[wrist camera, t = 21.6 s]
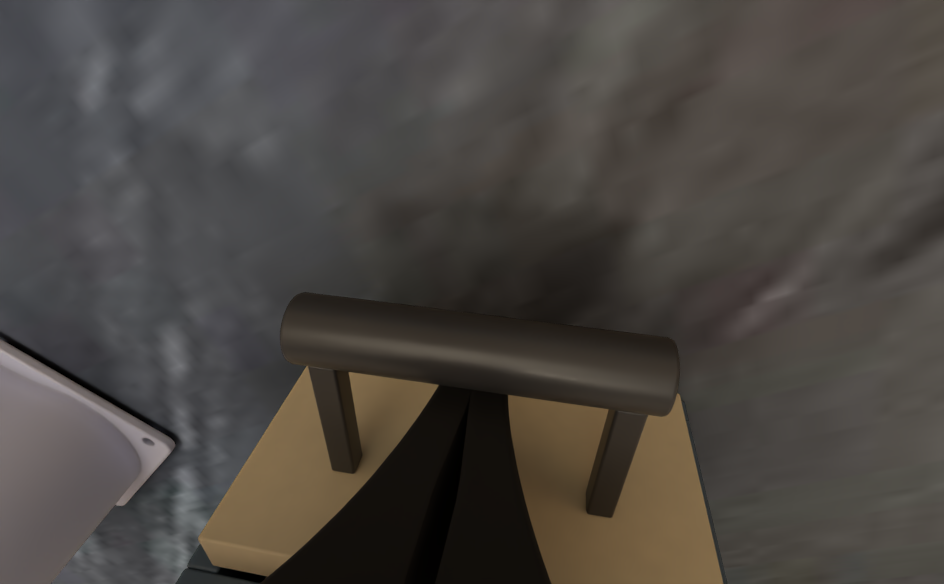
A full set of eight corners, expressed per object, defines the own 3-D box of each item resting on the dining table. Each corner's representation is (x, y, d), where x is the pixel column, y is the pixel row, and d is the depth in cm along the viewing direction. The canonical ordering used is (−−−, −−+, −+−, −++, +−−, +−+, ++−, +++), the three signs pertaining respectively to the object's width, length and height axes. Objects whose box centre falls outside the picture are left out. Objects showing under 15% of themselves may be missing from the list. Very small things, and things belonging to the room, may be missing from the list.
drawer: (290, 199, 13) (99, 372, 8) (738, 244, 11) (871, 491, 6) (361, 546, 23) (300, 719, 18) (602, 592, 21) (610, 793, 16)
